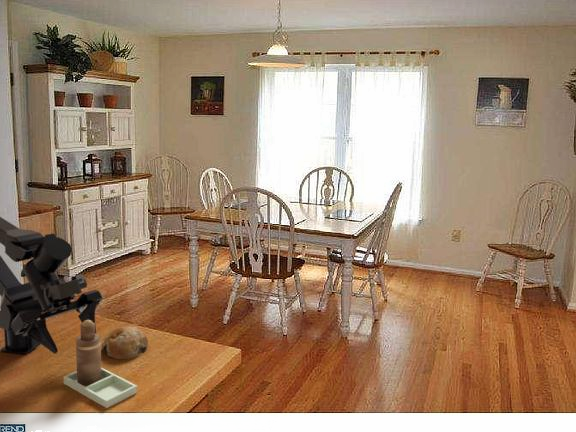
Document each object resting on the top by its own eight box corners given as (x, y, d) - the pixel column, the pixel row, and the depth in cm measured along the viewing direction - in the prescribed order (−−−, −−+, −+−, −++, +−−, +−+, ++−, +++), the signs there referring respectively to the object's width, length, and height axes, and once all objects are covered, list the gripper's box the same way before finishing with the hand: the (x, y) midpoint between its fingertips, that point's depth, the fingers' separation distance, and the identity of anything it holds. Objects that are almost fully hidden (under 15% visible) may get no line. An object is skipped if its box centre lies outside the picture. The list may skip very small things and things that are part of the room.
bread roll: (127, 377, 122) (141, 350, 120) (90, 354, 123) (103, 327, 121) (146, 358, 131) (159, 332, 129) (112, 336, 132) (124, 311, 130)
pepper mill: (72, 386, 109) (70, 323, 106) (84, 374, 114) (82, 314, 111) (94, 389, 109) (92, 326, 106) (105, 377, 113) (104, 316, 110)
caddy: (63, 385, 110) (63, 376, 110) (94, 371, 116) (94, 363, 116) (106, 410, 102) (106, 401, 102) (137, 394, 108) (137, 385, 108)
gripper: (16, 274, 104) (49, 343, 100) (97, 255, 119) (129, 315, 115) (-3, 301, 110) (28, 367, 106) (77, 279, 125) (107, 337, 121)
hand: (76, 345), depth 112 cm, fingers open, 9 cm apart
